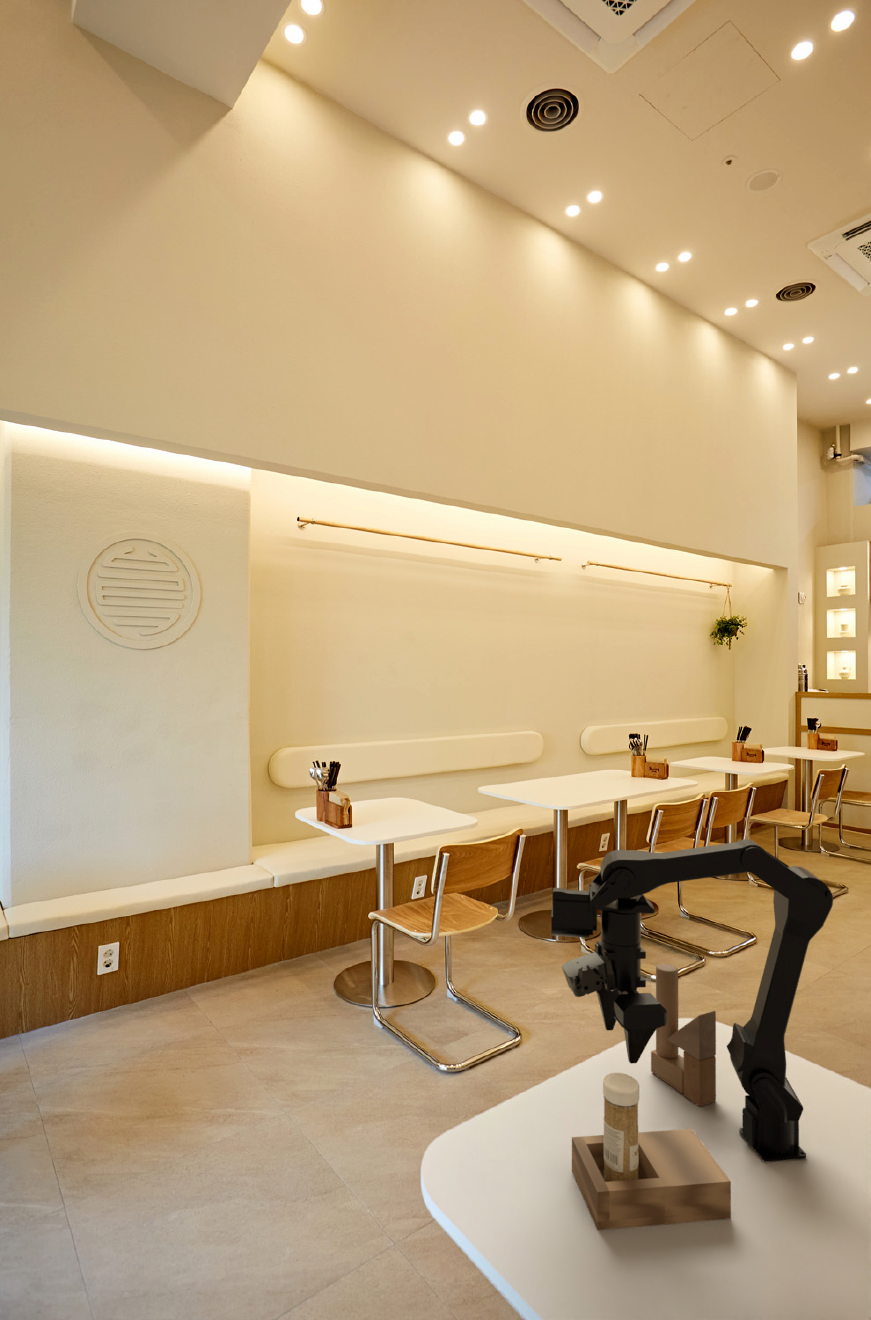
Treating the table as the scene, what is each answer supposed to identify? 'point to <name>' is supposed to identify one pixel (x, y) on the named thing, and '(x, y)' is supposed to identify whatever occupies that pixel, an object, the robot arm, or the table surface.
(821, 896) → the robot arm
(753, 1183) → the table surface
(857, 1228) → the table surface
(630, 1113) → the sprinkles bottle
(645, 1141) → the wooden bottle holder
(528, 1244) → the table surface
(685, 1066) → the wooden block
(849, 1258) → the table surface
